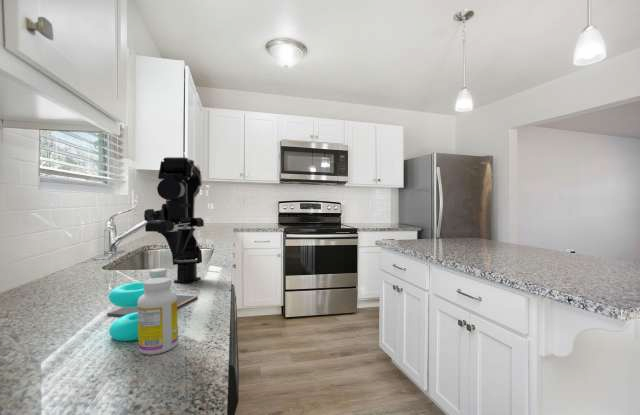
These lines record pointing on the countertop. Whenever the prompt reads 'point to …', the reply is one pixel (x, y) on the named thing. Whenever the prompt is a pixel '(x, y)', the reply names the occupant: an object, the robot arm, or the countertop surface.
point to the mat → (124, 311)
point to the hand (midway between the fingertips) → (177, 253)
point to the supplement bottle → (157, 317)
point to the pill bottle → (158, 273)
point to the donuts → (128, 324)
